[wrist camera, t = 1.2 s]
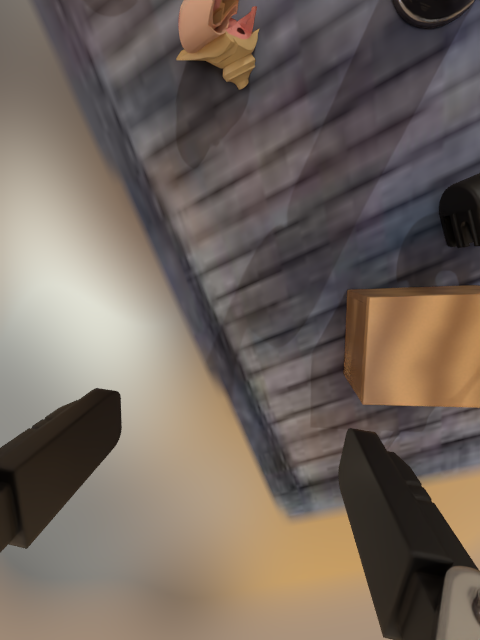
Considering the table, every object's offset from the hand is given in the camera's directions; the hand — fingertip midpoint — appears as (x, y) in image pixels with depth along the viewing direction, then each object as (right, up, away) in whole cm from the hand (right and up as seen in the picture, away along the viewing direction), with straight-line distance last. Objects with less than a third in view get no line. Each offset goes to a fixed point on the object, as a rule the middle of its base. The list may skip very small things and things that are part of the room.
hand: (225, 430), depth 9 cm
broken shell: (-2, +36, +21) cm, 42 cm away
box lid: (+23, 0, +19) cm, 29 cm away
